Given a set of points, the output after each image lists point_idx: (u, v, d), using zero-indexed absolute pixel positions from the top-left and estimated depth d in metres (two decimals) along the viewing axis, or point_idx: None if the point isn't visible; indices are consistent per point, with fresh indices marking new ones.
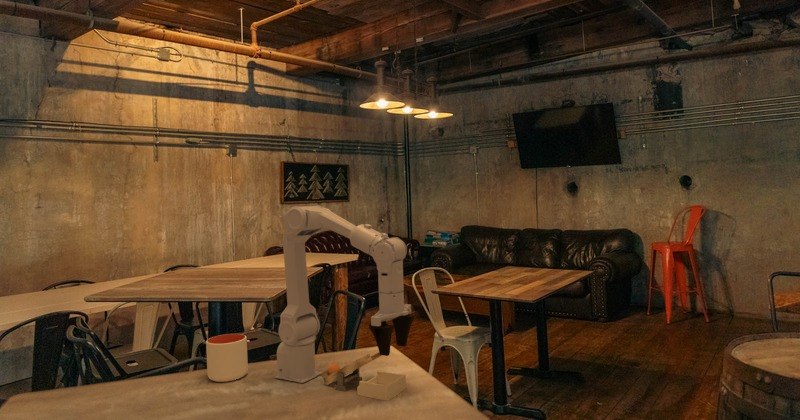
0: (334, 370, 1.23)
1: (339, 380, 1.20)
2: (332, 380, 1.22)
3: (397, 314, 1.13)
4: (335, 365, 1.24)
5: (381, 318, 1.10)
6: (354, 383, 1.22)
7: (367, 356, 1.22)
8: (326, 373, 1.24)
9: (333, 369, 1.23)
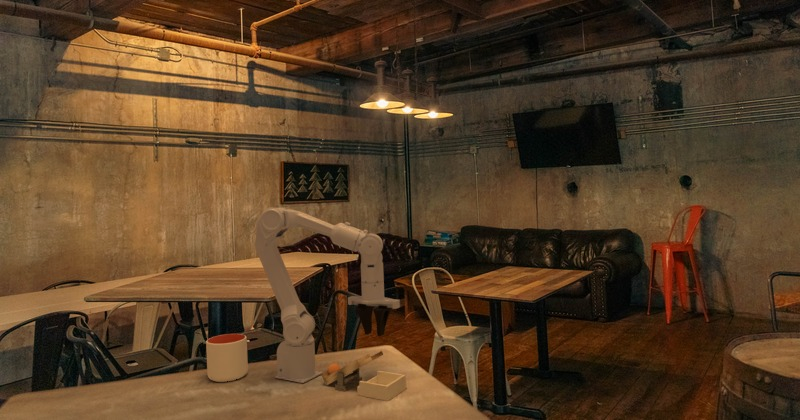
0: (334, 370, 1.23)
1: (339, 380, 1.20)
2: (332, 380, 1.22)
3: (361, 301, 1.28)
4: (335, 365, 1.24)
5: (350, 299, 1.31)
6: (354, 383, 1.22)
7: (367, 356, 1.22)
8: (326, 373, 1.24)
9: (333, 369, 1.23)
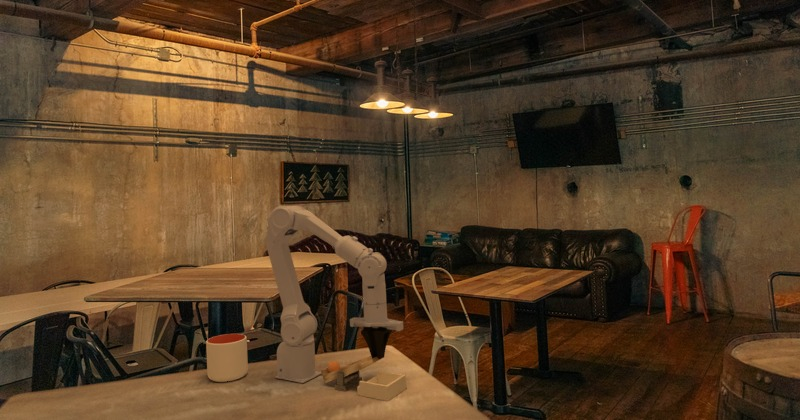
0: (334, 369, 1.23)
1: (339, 380, 1.20)
2: (331, 378, 1.22)
3: (363, 323, 1.24)
4: (336, 364, 1.24)
5: (352, 321, 1.28)
6: (354, 383, 1.22)
7: (368, 358, 1.22)
8: (326, 370, 1.24)
9: (333, 368, 1.23)
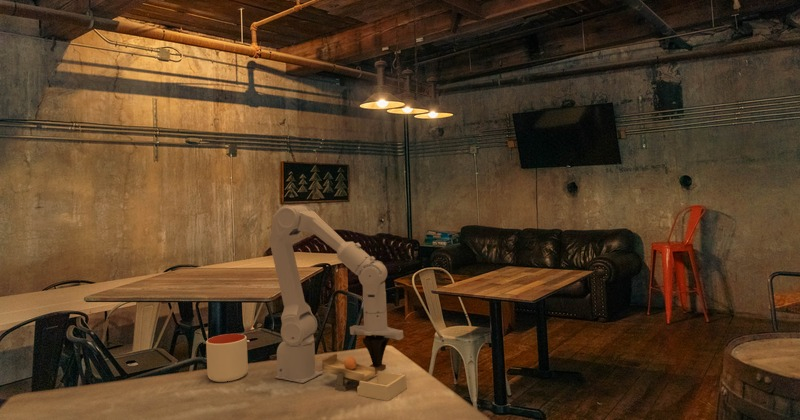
0: (344, 363, 1.22)
1: (339, 380, 1.20)
2: (330, 371, 1.22)
3: (363, 331, 1.24)
4: None
5: (352, 329, 1.28)
6: (354, 383, 1.22)
7: (372, 369, 1.22)
8: (327, 360, 1.24)
9: (344, 364, 1.22)
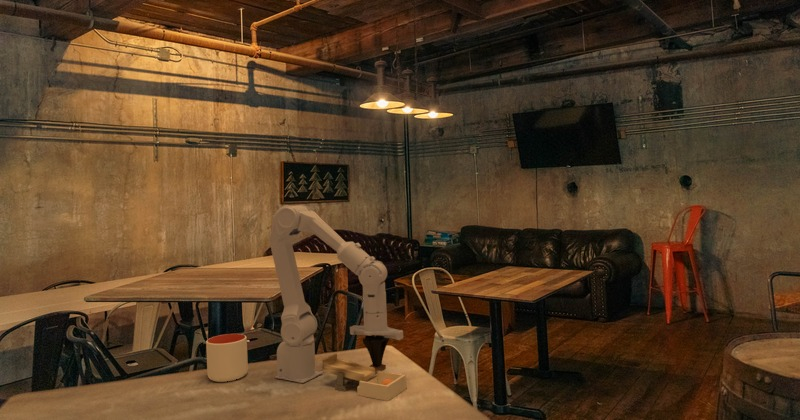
0: (384, 382, 1.16)
1: (339, 380, 1.20)
2: (330, 371, 1.22)
3: (363, 331, 1.24)
4: (382, 381, 1.17)
5: (352, 329, 1.28)
6: (354, 383, 1.22)
7: (372, 369, 1.22)
8: (327, 360, 1.24)
9: (383, 383, 1.16)
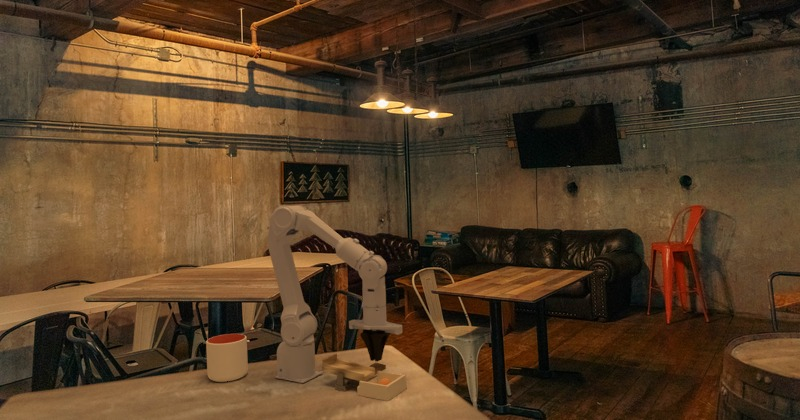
0: (380, 382, 1.17)
1: (339, 380, 1.20)
2: (330, 371, 1.22)
3: (362, 326, 1.24)
4: None
5: (352, 323, 1.28)
6: (354, 383, 1.22)
7: (372, 369, 1.22)
8: (327, 360, 1.24)
9: (379, 383, 1.17)
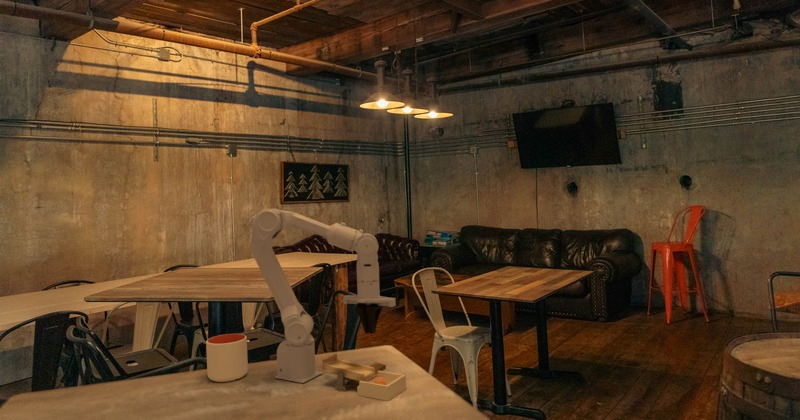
0: None
1: (339, 380, 1.20)
2: (330, 371, 1.22)
3: (357, 300, 1.29)
4: None
5: (346, 298, 1.33)
6: (354, 383, 1.22)
7: (372, 369, 1.22)
8: (327, 360, 1.24)
9: None
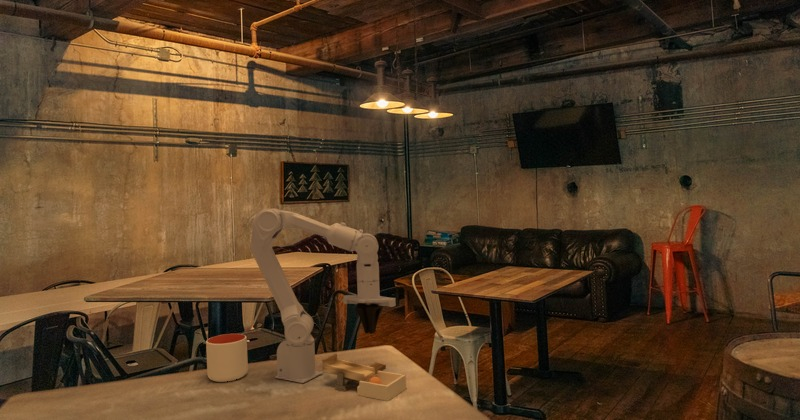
0: None
1: (339, 380, 1.20)
2: (330, 371, 1.22)
3: (357, 300, 1.29)
4: None
5: (346, 298, 1.33)
6: (354, 383, 1.22)
7: (372, 369, 1.22)
8: (327, 360, 1.24)
9: None
